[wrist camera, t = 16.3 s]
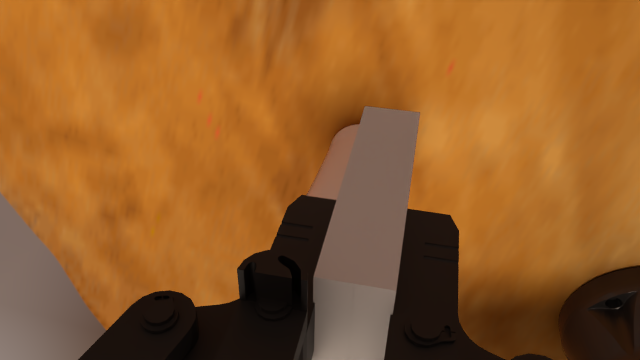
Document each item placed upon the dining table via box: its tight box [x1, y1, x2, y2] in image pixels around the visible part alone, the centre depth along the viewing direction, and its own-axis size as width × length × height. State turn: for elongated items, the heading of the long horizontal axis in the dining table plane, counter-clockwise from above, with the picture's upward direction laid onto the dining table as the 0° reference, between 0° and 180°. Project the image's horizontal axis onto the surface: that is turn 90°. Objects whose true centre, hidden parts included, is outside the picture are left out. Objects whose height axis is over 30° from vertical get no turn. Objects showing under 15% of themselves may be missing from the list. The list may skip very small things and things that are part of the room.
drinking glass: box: [306, 124, 359, 200], centre depth 42 cm, size 7×7×15 cm
